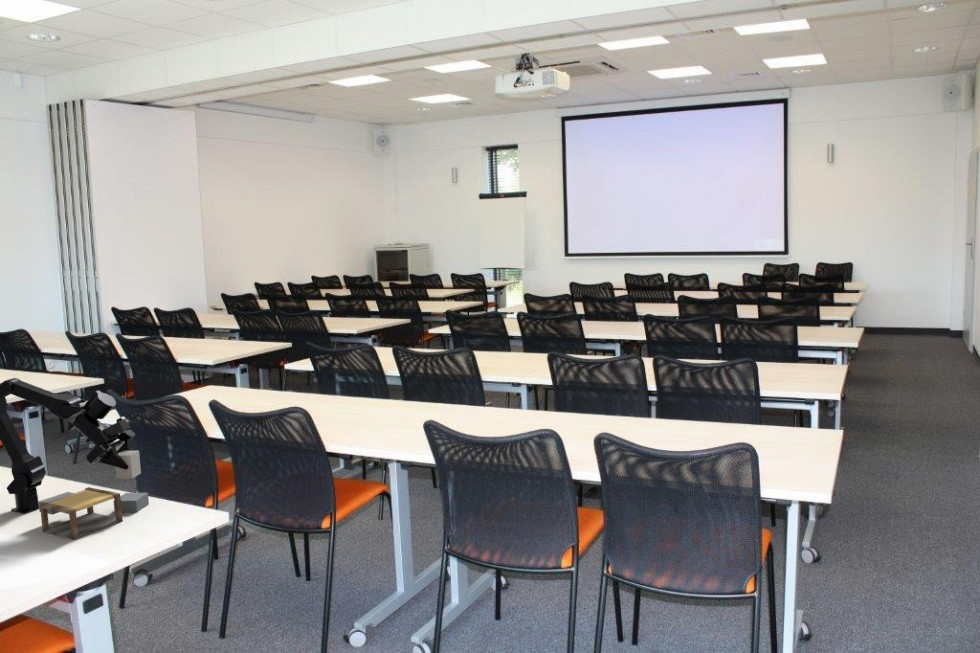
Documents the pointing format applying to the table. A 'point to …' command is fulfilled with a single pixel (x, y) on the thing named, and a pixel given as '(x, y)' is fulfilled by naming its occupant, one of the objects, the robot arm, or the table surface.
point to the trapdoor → (77, 500)
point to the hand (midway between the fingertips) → (132, 465)
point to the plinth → (133, 502)
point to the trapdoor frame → (80, 518)
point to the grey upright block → (129, 465)
